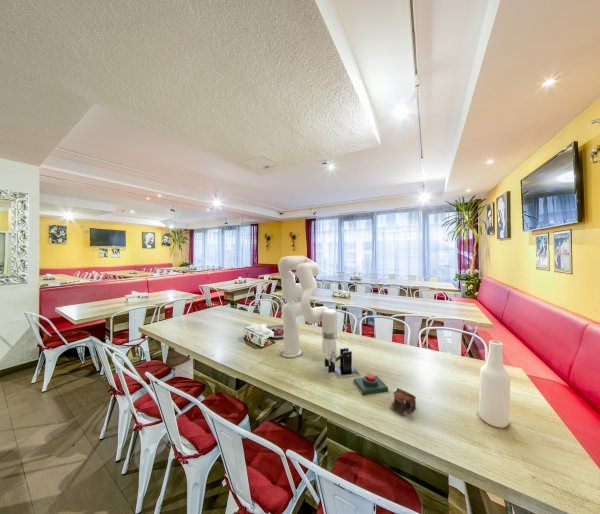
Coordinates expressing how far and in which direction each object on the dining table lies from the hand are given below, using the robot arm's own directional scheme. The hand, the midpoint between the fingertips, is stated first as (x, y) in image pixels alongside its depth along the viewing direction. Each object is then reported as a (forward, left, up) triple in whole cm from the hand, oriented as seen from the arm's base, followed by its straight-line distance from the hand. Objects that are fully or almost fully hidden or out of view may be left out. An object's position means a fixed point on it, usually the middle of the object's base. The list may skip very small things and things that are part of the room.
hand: (329, 368), depth 123 cm
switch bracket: (+9, 0, -3) cm, 9 cm away
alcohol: (+50, -44, -3) cm, 67 cm away
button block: (+15, -15, -3) cm, 21 cm away
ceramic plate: (-20, +63, -3) cm, 66 cm away
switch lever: (+5, 0, +4) cm, 7 cm away
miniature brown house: (+21, -32, -3) cm, 38 cm away
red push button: (+15, -15, +1) cm, 21 cm away
